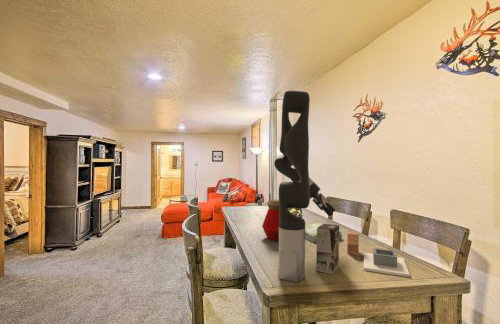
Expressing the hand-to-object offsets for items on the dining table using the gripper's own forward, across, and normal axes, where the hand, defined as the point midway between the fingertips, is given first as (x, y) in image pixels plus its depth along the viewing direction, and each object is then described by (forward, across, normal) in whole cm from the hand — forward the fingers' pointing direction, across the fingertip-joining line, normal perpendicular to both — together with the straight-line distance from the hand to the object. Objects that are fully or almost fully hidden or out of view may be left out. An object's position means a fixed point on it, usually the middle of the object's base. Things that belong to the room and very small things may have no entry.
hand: (332, 213), depth 124 cm
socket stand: (+27, -10, -3) cm, 29 cm away
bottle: (-8, +6, +33) cm, 34 cm away
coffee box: (+12, -23, +11) cm, 29 cm away
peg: (+18, 0, +6) cm, 19 cm away
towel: (+5, +21, +20) cm, 29 cm away
